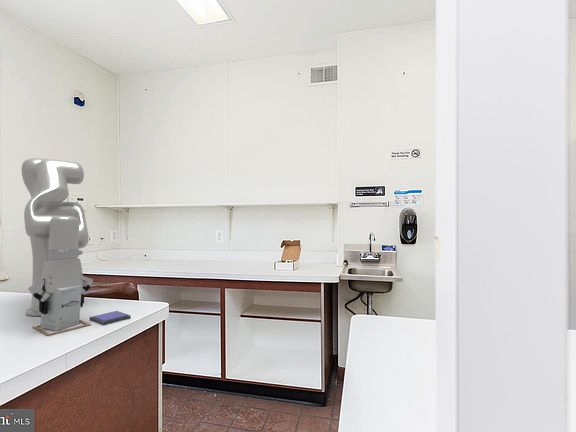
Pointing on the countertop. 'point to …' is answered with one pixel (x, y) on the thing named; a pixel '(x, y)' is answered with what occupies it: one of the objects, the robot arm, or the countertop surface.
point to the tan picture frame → (62, 330)
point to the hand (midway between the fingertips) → (62, 309)
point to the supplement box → (62, 308)
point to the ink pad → (110, 317)
